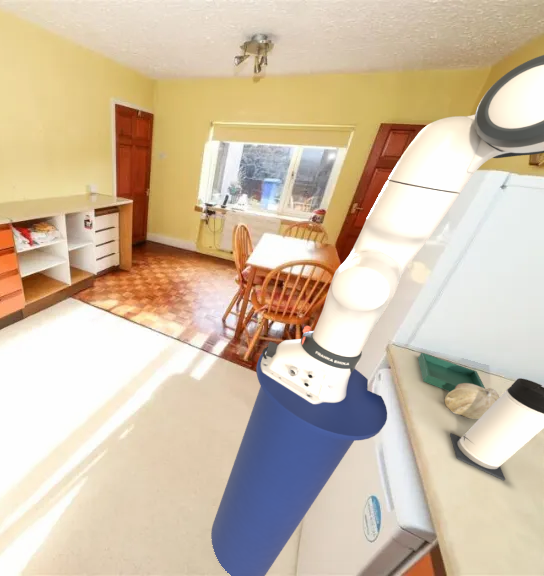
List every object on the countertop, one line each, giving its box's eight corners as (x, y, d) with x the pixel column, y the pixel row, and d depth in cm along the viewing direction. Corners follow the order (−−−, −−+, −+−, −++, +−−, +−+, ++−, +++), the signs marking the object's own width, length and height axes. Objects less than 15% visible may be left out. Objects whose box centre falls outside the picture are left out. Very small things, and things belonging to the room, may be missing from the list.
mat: (456, 458, 57) (458, 457, 57) (449, 434, 62) (450, 432, 62) (504, 480, 54) (505, 479, 53) (492, 453, 59) (493, 451, 58)
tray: (423, 381, 77) (427, 375, 76) (417, 358, 86) (421, 352, 85) (484, 405, 71) (490, 398, 70) (471, 377, 80) (476, 371, 79)
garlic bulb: (465, 414, 70) (502, 390, 66) (484, 437, 63) (526, 411, 59) (427, 390, 73) (460, 366, 69) (441, 409, 66) (479, 383, 62)
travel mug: (448, 444, 59) (510, 378, 50) (467, 437, 61) (529, 372, 52) (486, 474, 54) (562, 406, 45) (504, 465, 56) (581, 399, 47)
